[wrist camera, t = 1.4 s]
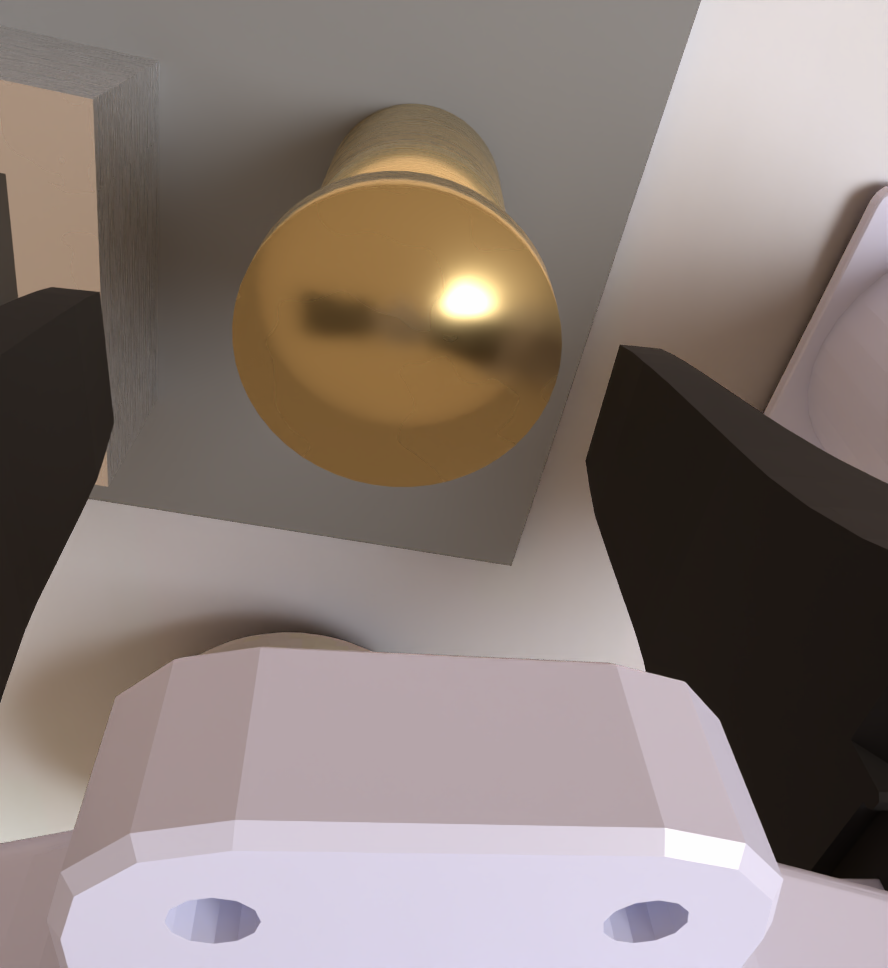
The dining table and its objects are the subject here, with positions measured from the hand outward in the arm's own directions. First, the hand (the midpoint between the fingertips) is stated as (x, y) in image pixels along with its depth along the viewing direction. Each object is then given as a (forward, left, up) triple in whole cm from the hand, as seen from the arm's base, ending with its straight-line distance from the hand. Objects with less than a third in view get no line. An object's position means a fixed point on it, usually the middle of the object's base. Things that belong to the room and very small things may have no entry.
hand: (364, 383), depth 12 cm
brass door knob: (0, 0, -9) cm, 9 cm away
